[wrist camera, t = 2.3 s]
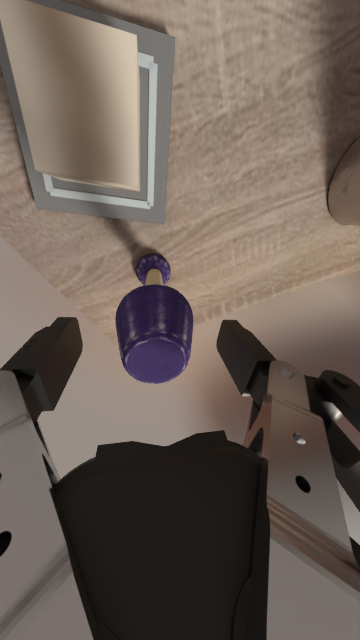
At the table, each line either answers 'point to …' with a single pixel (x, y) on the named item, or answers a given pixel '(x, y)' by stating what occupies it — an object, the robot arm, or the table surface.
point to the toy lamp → (154, 325)
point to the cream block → (76, 94)
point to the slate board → (153, 132)
